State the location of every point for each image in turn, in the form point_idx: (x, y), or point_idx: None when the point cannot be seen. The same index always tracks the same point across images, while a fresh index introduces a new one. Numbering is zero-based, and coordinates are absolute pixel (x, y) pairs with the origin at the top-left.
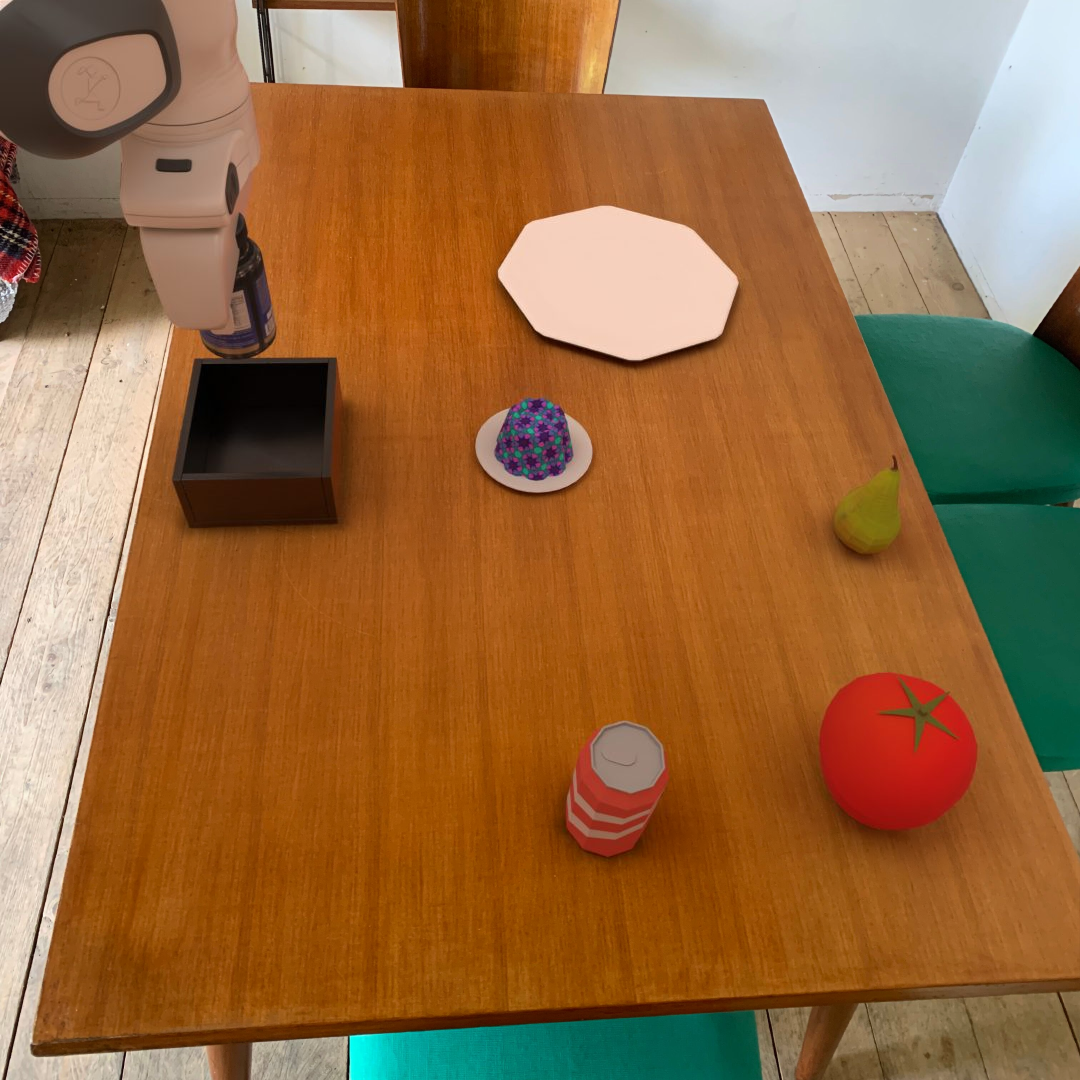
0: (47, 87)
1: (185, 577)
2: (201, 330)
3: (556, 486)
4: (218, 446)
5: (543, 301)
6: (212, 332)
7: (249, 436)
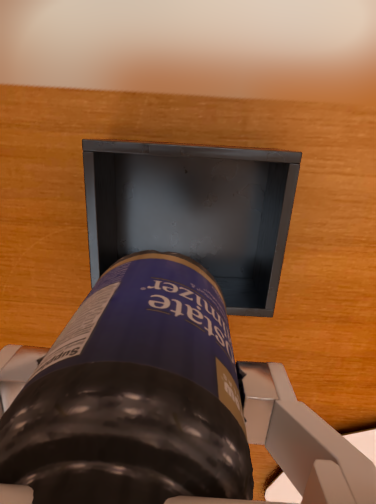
0: None
1: (47, 139)
2: (104, 279)
3: None
4: (209, 165)
5: (356, 447)
6: (7, 345)
7: (220, 197)
